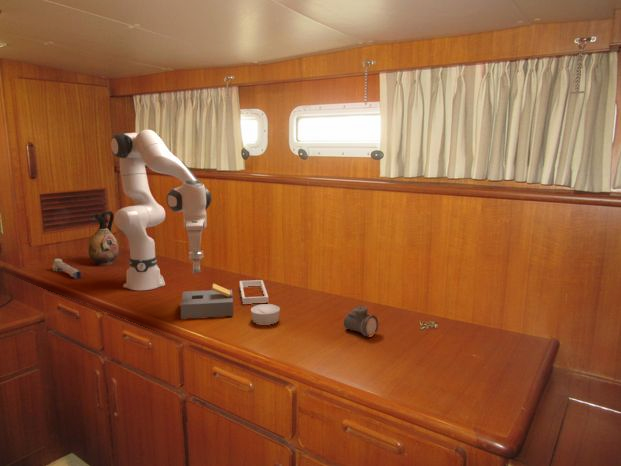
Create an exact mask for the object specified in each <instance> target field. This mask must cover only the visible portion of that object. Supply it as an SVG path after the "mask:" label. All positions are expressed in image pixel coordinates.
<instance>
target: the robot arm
mask: <svg viewBox="0 0 621 466" xmlns="http://www.w3.org/2000/svg"><path fill="white" fill-rule="evenodd" d="M110 150H111V152H112V154H113V155H114V156H115V157H116V158H119V175H120V178H121V179H120V180H121V184H122V190H123V191H122V192H123V193H124V194H125V196H126V197H128V198H130V199H131V200H132V201H133V204H134V205H131V206H129V205H128V206H126V207H122V208H120V209H118V210H117V211H116V212H115V214H114V219H113V222H114V224H115V226H116V227H117V228H118V230H121V231H122V232H123V233H124V235H125V236H126V238H127V240H128V244H129V246H128V247H129V255H130V258H129V263H128V264H129V267H128V268H127V269H126V282H125V283H124V284H123V285H122V287H123V288H125V289H129V290H133V291H148V290H150V291H151V290H154V289H157V288H160V287H164V286H166V282H165V279H164V277H163V275H161V270H160V268H159V266H158V264H157V263H158V262H157V261H158V259H157V256H156V243H155V239H153V238H152V237H150V236H149V235H148V233H147V230H146V229H147V228H151V227H156V226H158V225H160V224H162V223H163V222H165V219H166V210H165V209H164V207H163V206H162V205H161V204H159V203H158V202H157V201H156V200H155V198H154V197H153V194H152V193H151V190H150V186H149V180H148V175H147V169H146V166H147V168H148V169H149V170H151V171H152V172H154V173H159V174H162V175H166V176H171V177H174V178H176V179H179V181H180V182H181V183H182V184H181V185H180V186H178V187H176V188H175V187H174V188H172V189H170V190H169V191H168V193H167V196H166V204H167V207H168V208H169V209H170V210H171V211H172V212H176V213H181V212H182V213H183V228H185V231H187V239H188V247H189V250H190V251H193V258H194V259H198V250H199V251H201V250H200V249H201V243H202V234H203V232H204V231H205V230H204V229H205V228H207V227H208V223H207V222H208V219H207V218H208V217H207V211H206V210H207V209H209V207H210V206H211V204H212V203H211V202H212V199H213V197H212V194H211V192H210V191H209V189H208V188H207V187H206V186H205V184H204V183H203V182H201V181H199V179H198V178H197V177H196V175H195V174H194V173H193V172H192V171H191V170H190V168H189V167H188V166H187V164H185V162H184V161H182V160H181V159H179V158H178V157H177V156H176V155H174V154H173V153H172V152H171V151H170V150H169V148H168V147H167V145H166V144H165V143H164V141H163V140H162V137H160V135H159V134H157V133H156V132H155V131H154V130H152V129H143V130H141V131H140V132H139V131H136V132H135V131H134V132H125V133H123V132H122V133H121V132H120V133H117V134H116V133H115V134H114V135H113V136H112V138H111V139H110Z"/></svg>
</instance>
